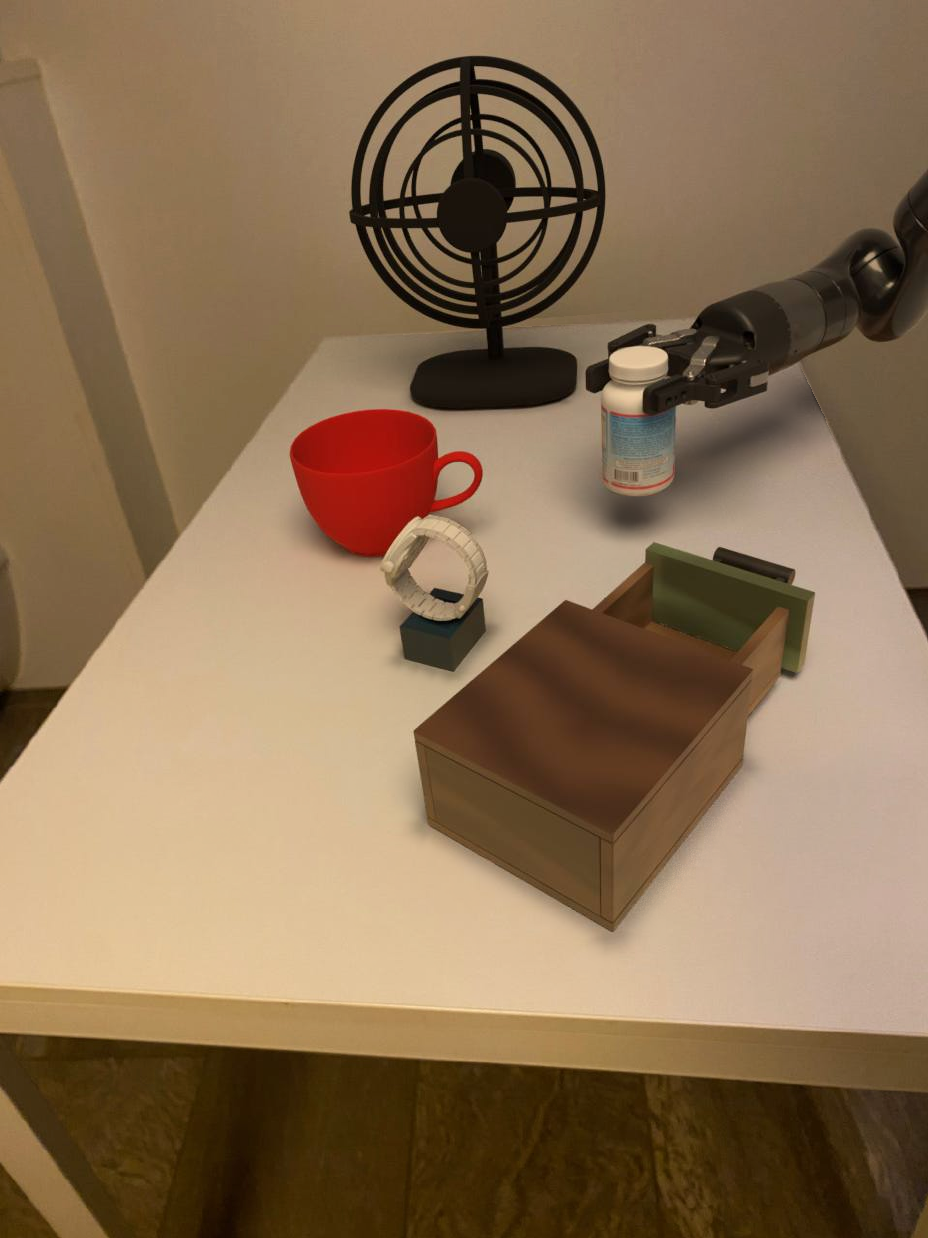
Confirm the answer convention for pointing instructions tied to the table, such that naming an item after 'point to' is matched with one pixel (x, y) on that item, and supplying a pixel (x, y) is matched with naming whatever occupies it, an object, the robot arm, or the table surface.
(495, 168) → the desk fan
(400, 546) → the watch
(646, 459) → the pill bottle
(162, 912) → the table surface
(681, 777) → the cabinet
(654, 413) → the robot arm
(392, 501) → the ceramic cup
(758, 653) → the drawer
